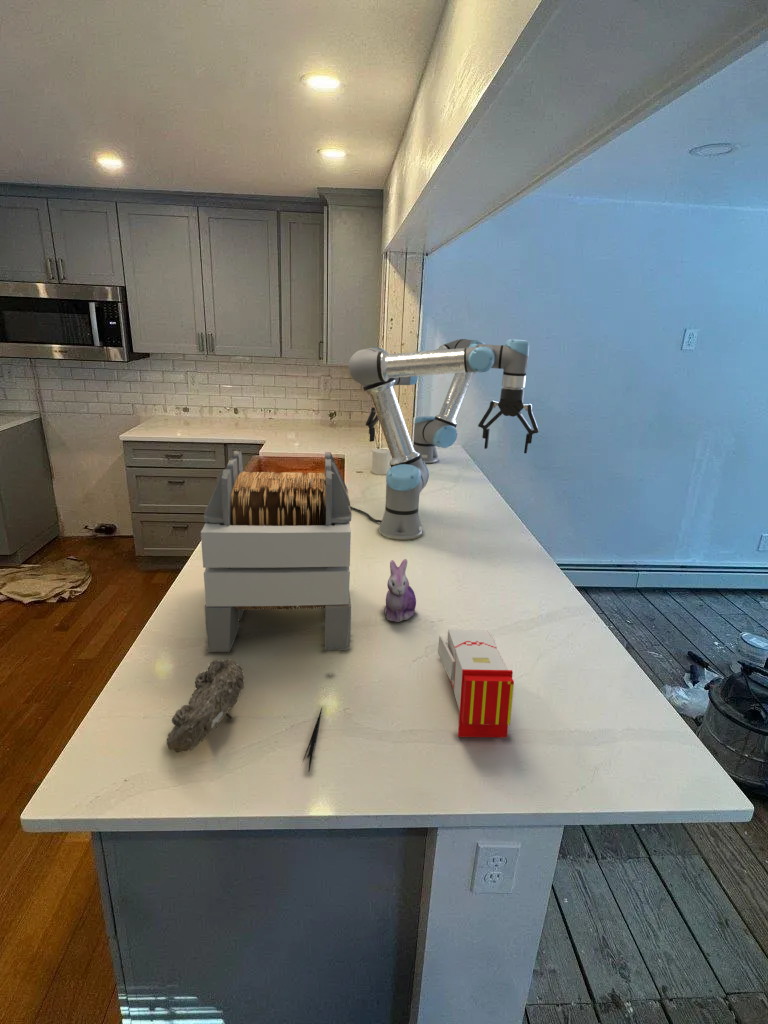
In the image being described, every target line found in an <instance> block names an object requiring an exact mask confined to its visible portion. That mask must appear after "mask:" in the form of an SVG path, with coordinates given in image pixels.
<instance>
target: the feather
mask: <svg viewBox="0 0 768 1024" xmlns="http://www.w3.org/2000/svg"><path fill="white" fill-rule="evenodd" d="M329 675H330V676H331V675H332V674H331V673H330V674H329ZM322 710H323V707H321V708H320V710H319V713H318V716H317V719H316V723H315V725H314V728H313V731H312V733H311V737H310V739H309V742H308V745H307V748H306V751H305V754H304V757H303V760H302V763H301V767H302V765H303V763H304V761H305V758H308V759H309V760H308V762H307V763H308V764H307V766H308V771H310V770H311V766H312V765H311V764H312V760H313V757H315V756H314V755H315V751H316V749H315V746H317V739H318V733H319V729H320V722H321V717H322V712H323V711H322ZM313 754H314V755H313ZM306 755H307V757H306Z"/></svg>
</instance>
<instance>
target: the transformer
mask: <svg viewBox="0 0 768 1024" xmlns="http://www.w3.org/2000/svg"><path fill="white" fill-rule="evenodd" d="M337 465H338V464H337V463H336V461H335V459H334V457H333V454H332V452H330V451H324V472H317V473H316V472H307V473H306V472H305V473H304V472H301V471H300V472H299V471H298V472H297V471H296V472H294V471H293V472H292V471H291V472H290V471H289V472H288V471H282V472H278V473H277V472H274V471H261V472H259V471H251V472H250V471H244V469H243V468H244V467H243V466H244V465H243V453H242V451H237V450H234V451H233V453H232V454H231V457H230V458H229V459H228V462H227V464H226V466H225V468H224V469H223V470H222V471H221V474H220V476H219V479H218V481H217V483H216V485H215V487H214V490H213V492H212V494H211V497H210V498H209V502H208V503H207V506H206V508H205V510H204V514H203V521H204V522H205V523H204V525H203V527H202V529H201V531H200V541H201V556H202V568H205V570H204V571H203V582H204V596H205V599H204V600H205V605H204V621H205V633H206V640H207V641H206V642H207V648H206V651H207V653H215V652H217V653H218V652H219V653H220V652H221V653H222V652H223V653H224V652H226V653H227V652H230V651H231V649H232V646H233V644H234V642H235V638H236V637H237V634H238V632H239V629H240V624H239V623H240V622H239V621H240V620H242V617H243V613H244V611H245V610H252V611H254V610H255V611H256V610H293V609H294V610H296V609H297V610H299V609H300V610H301V609H303V610H306V609H307V610H310V609H312V610H313V609H324V611H323V612H324V614H323V616H324V617H323V618H324V650H325V651H326V650H332V651H333V650H334V651H335V650H342V651H347V650H349V649H350V648H351V631H352V626H351V625H352V603H351V591H350V580H351V579H350V578H351V576H350V575H351V570H350V566H351V543H352V542H351V538H352V537H351V536H352V535H351V534H352V531H351V525H350V522H351V521H352V516H353V515H352V509H351V507H352V506H351V501H350V496H349V495H350V494H349V489H348V486H347V485H346V483H345V480H344V478H343V476H342V474H341V471H340V470H339V467H338V466H337ZM350 506H351V507H350Z"/></svg>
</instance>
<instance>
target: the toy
mask: <svg viewBox="0 0 768 1024" xmlns="http://www.w3.org/2000/svg"><path fill="white" fill-rule="evenodd" d="M446 640H447V643H446V641H445V639H444V636H443V635H442V634H439V637H438V646H437V656H438V657H439V659H440V661H441V663H442V666H443V668H444V670H445V672H446V674H447V677H448V679H449V681H450V684H451V687H452V690H453V693H454V697H455V701H456V705H457V708H458V711H459V714H458V715H459V716H458V730H457V731H458V732H457V737H458V738H508V731H509V726H510V725H511V717H512V707H513V697H514V696H513V695H514V684H515V680H514V679H513V673H514V671H513V670H512V669H508V667H507V665H506V662H505V661H504V659H503V658H502V655H501V653H500V651H499V649H498V647H497V643H496V639H495V637H494V635H493V634H491V632H490V631H489V629H467V628H466V629H465V628H463V629H461V628H460V629H459V628H448V630H447V639H446Z"/></svg>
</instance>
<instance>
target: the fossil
mask: <svg viewBox="0 0 768 1024" xmlns="http://www.w3.org/2000/svg"><path fill="white" fill-rule="evenodd" d="M243 670H244V669H243V667H242V665H240V664H237V662H236V661H235V660H234V659H232V658H231V659H227V658H226V659H224V660H223V661H222V660H217V659H212V660H211V661H210V663H209V665H208V666H207V671H201V672H199V673H198V674H197V675H196V676H195V680H194V684H195V685H194V687H195V689H194V690H193V693H192V694H191V697H190V698H189V700H188V704H184V705H182V706H181V707H180V709H177V710H176V711H175V713H174V715H173V716H172V718H171V723H172V724H173V727H172V730H171V731H170V732H168V734H167V738H166V741H167V742H166V745H167V749H168V750H169V751H173V752H174V753H176V754H178V753H182V752H188V751H189V752H192V751H193V750H195V748H196V747H197V746H199V744H200V743H201V742H203V741H204V740H205V739H206V738H207V737H208V736H209V735H210V734H211V733H212V732H214V730H215V729H217V727H218V726H219V724H220V722H221V721H222V720H223V719H224V718H225V716H226V717H227V719H229V720H233V717H232V715H230V714H229V710H230V709H231V708H234V706H235V704H236V703H237V702H238V699H239V697H240V695H241V693H242V691H243V690H245V689H244V688H245V675H244V671H243Z"/></svg>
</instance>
